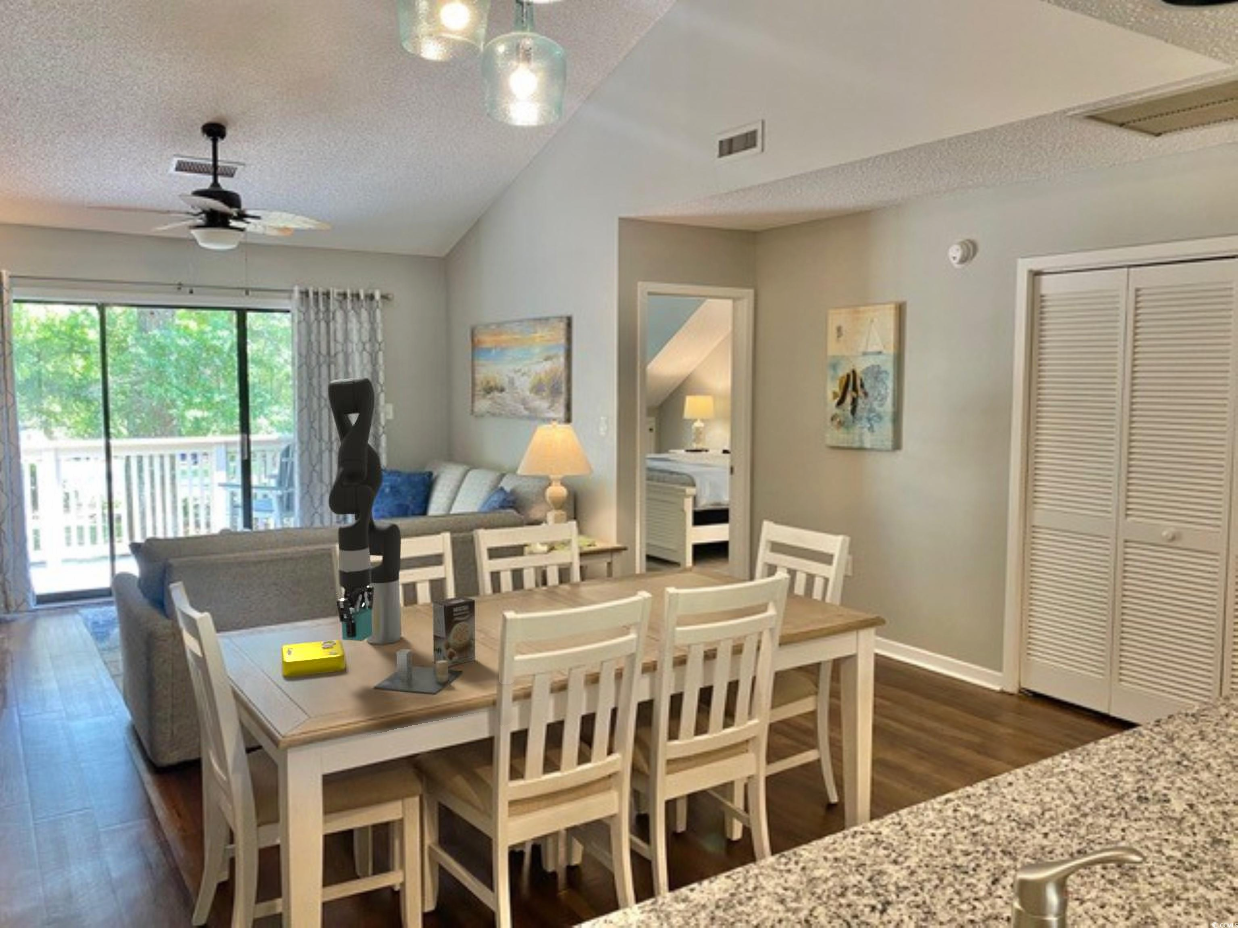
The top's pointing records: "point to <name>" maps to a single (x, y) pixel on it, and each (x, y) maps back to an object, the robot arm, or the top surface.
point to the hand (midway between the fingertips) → (357, 633)
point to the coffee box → (454, 630)
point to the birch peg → (441, 671)
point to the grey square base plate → (414, 677)
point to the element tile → (312, 658)
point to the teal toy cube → (360, 625)
